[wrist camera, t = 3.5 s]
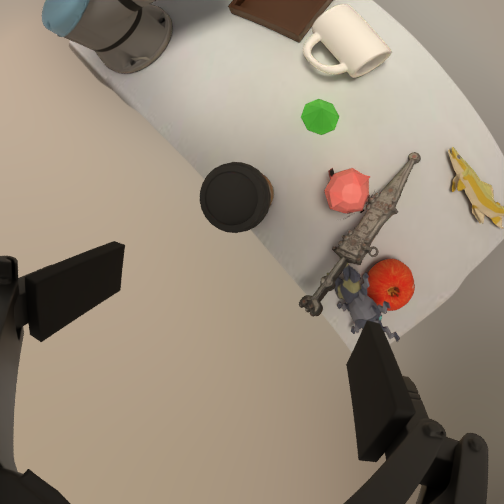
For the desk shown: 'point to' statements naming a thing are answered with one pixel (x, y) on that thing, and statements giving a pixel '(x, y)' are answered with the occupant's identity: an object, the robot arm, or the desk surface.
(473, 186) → the toy
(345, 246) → the decorative dagger
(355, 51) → the mug
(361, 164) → the desk surface
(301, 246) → the desk surface
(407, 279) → the apple
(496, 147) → the desk surface
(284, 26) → the serving tray
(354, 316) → the toy
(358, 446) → the robot arm
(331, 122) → the green pyramid
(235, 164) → the coffee cup
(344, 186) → the cat figurine
